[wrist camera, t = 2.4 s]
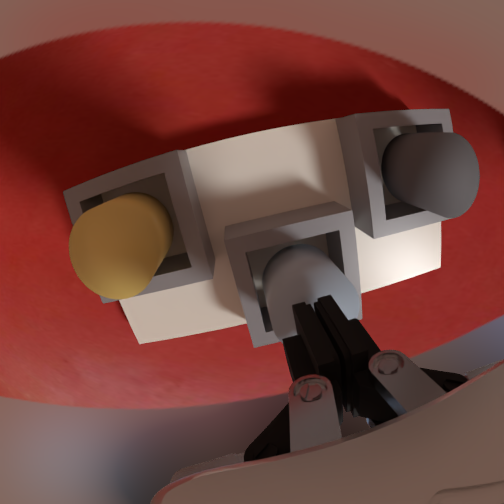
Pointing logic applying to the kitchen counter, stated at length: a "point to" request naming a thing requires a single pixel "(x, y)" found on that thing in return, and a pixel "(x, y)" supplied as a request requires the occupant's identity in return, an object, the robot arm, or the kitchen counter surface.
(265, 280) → the slate button
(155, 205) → the mustard button
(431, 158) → the charcoal button
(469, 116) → the kitchen counter surface
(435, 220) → the console
